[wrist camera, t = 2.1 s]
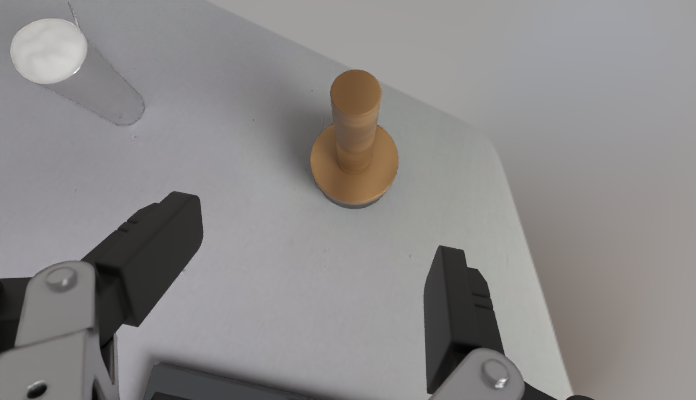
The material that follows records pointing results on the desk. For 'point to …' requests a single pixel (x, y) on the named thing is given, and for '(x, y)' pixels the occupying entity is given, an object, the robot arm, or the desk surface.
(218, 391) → the tile
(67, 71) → the milkshake
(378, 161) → the brush
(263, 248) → the desk surface
